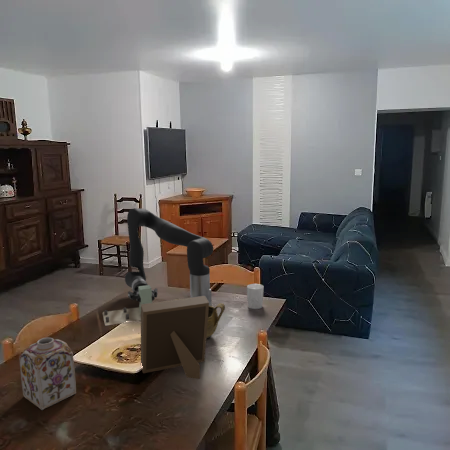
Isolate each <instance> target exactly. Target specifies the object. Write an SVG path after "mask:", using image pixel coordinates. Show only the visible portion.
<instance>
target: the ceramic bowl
mask: <svg viewBox="0 0 450 450" xmlns="http://www.w3.org/2000/svg"><path fill="white" fill-rule="evenodd" d="M177 299H179V298H175V299H174V300H177ZM218 308H219V309H220V312H219V315H218V310H217V309H218ZM225 310H226V306H225V304H224V303H222V302H220V303H218V304H216V306H215V307H214V306H209V311H208V323H207V336H206V340H207V339H208V338H210V337H211V336H212V335H213V334H215V332H216V330H217V328H218V324H219V321H220V320H221V317H222V316H223V313H224V311H225Z"/></svg>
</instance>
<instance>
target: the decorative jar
mask: <svg viewBox="0 0 450 450" xmlns="http://www.w3.org/2000/svg"><path fill="white" fill-rule="evenodd" d="M19 370H20V379H21V381H20V382H21V387H22V388H21V389H22V395H23V397H24V398H25V399H26V400H28V401H29V402H30V403H32V404H33V405H34V406H36V407H38V408H39V410H41V411H43V410H45V409H47V408H49V407H51V406H53V405H55V404H58V403H60V402H61V401H63V400H66V399H67V398H69V397H70V398H71V397H72V396H73V395H74V396H75V394H77V385H76V384H77V383H76V371H75V370H76V369H75V362H74V352H73V351H72V348H71V347H70V346H69V345H68V343H67V342H65V341H63V340H61V339H58V338H57V339H54V338H53V337H43V338H40V339H38V340H37V342H35V343H32V344H30V345H29V346H28V347H27V348H26V349H24V351H23V352H22V353H21V354H20V356H19Z"/></svg>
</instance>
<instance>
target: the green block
mask: <svg viewBox="0 0 450 450" xmlns="http://www.w3.org/2000/svg"><path fill="white" fill-rule="evenodd" d="M138 287H139V296H140V298H141V302H138V303H139V305H138V307H139V308H140V313H141V304H148V303H153V301H152V290H153V288H152V286H151V285H150V284H148V285H146V286H138Z"/></svg>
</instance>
